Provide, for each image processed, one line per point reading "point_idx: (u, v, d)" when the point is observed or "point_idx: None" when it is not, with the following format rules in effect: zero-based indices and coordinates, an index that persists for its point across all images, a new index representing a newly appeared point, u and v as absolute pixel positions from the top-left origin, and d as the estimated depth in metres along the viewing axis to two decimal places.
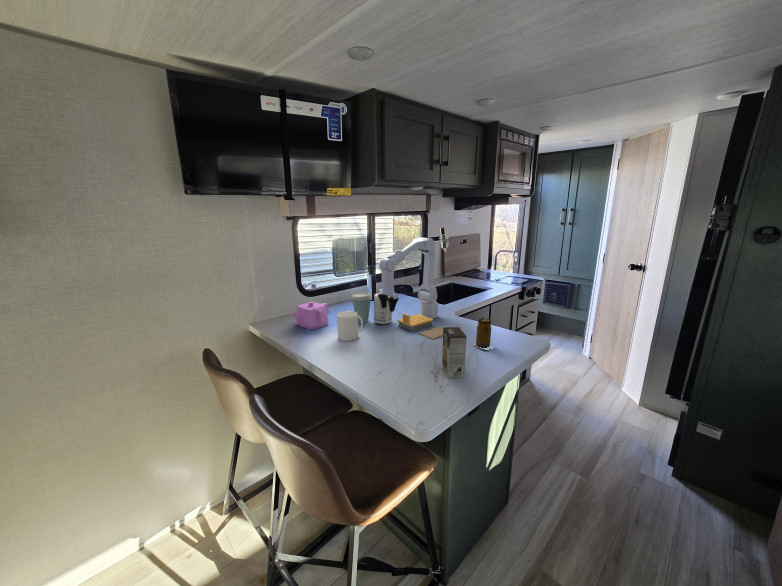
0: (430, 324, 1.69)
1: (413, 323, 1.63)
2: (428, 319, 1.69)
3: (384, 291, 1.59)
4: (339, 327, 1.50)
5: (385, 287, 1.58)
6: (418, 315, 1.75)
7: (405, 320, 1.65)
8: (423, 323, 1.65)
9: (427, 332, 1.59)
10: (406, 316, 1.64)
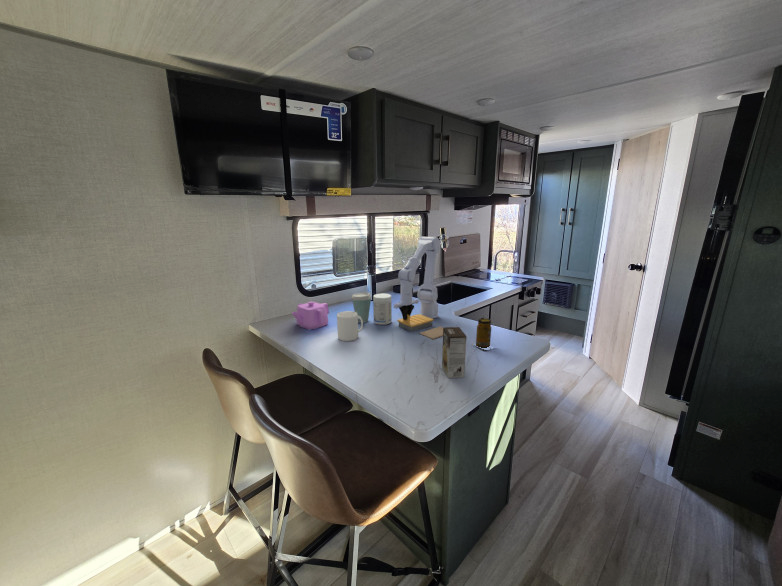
0: (430, 324, 1.69)
1: (413, 323, 1.63)
2: (428, 319, 1.69)
3: None
4: (339, 327, 1.50)
5: None
6: (418, 315, 1.75)
7: (405, 320, 1.65)
8: (423, 323, 1.65)
9: (427, 332, 1.59)
10: None
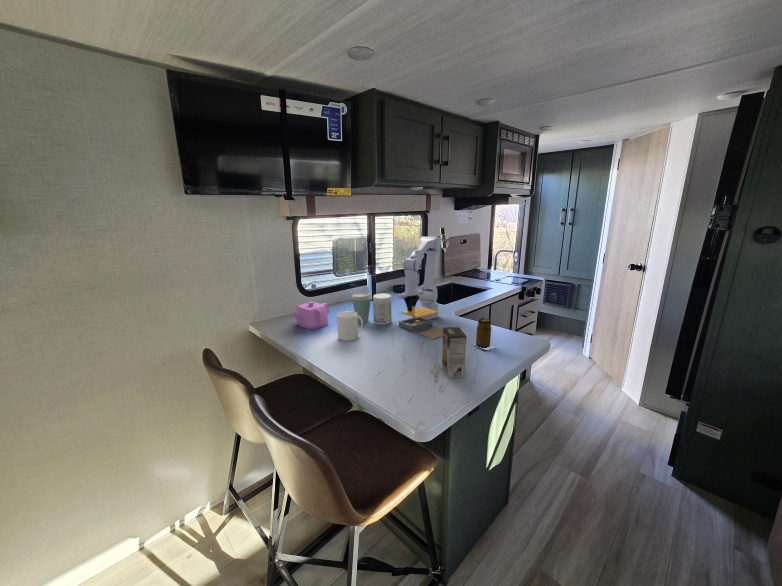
0: (430, 324, 1.69)
1: (418, 315, 1.60)
2: (433, 311, 1.65)
3: None
4: (339, 327, 1.50)
5: None
6: (423, 308, 1.72)
7: None
8: (428, 315, 1.61)
9: (427, 332, 1.59)
10: None
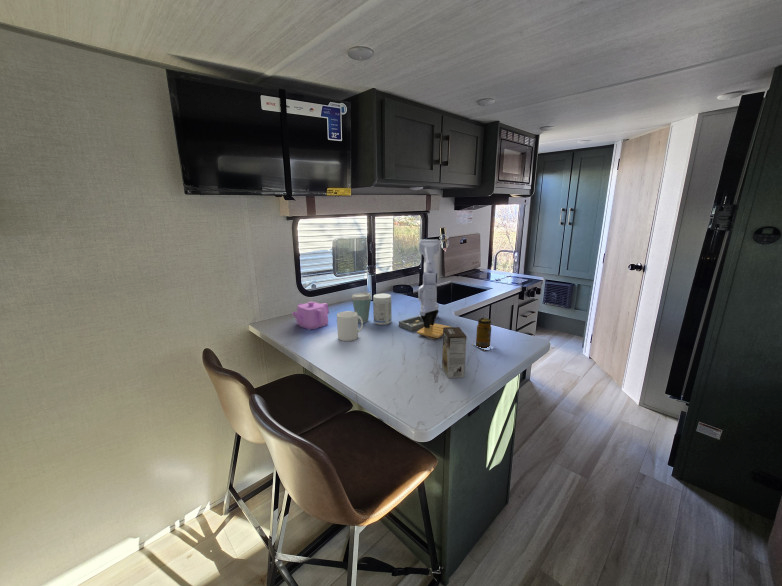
0: None
1: (437, 333, 1.54)
2: None
3: None
4: (339, 327, 1.50)
5: (423, 301, 1.51)
6: None
7: (427, 331, 1.54)
8: None
9: None
10: (429, 327, 1.53)
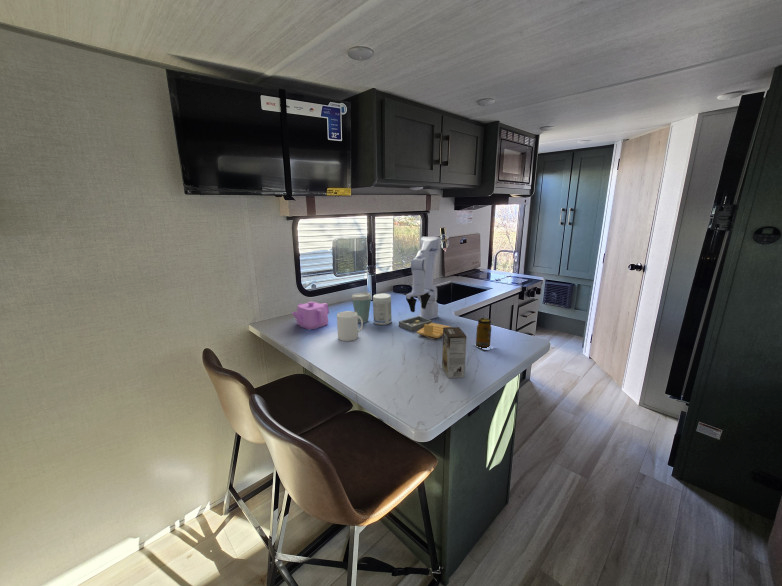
0: None
1: (437, 333, 1.54)
2: None
3: None
4: (339, 327, 1.50)
5: None
6: (432, 324, 1.66)
7: (427, 331, 1.54)
8: None
9: None
10: (429, 327, 1.53)
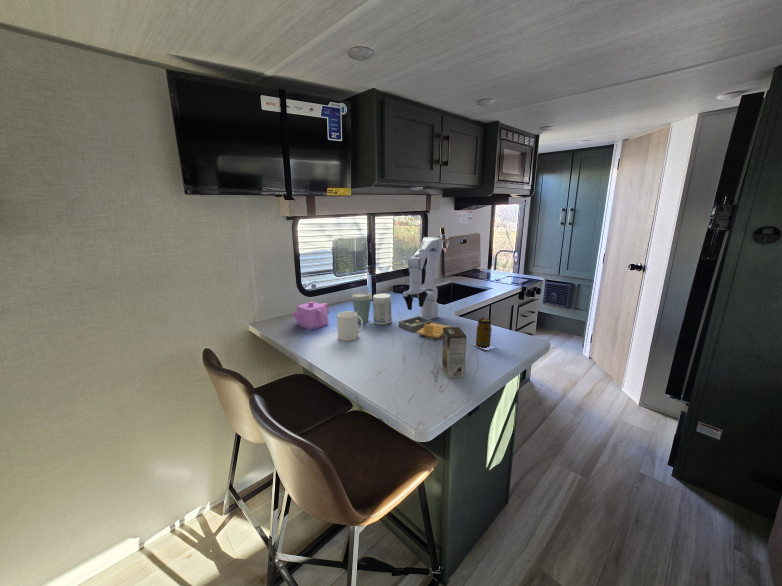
0: None
1: (437, 333, 1.54)
2: None
3: None
4: (339, 327, 1.50)
5: None
6: (432, 324, 1.66)
7: (427, 331, 1.54)
8: None
9: None
10: (429, 327, 1.53)
